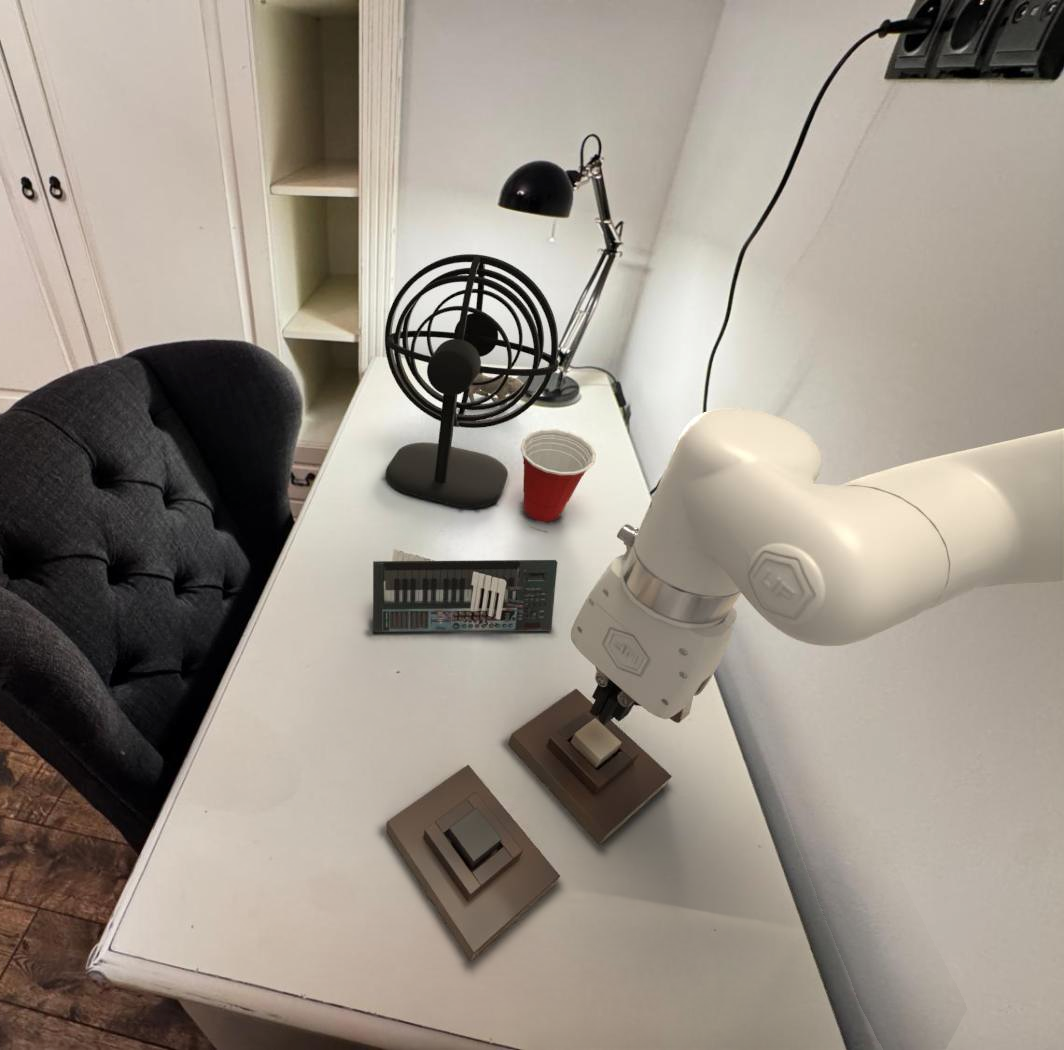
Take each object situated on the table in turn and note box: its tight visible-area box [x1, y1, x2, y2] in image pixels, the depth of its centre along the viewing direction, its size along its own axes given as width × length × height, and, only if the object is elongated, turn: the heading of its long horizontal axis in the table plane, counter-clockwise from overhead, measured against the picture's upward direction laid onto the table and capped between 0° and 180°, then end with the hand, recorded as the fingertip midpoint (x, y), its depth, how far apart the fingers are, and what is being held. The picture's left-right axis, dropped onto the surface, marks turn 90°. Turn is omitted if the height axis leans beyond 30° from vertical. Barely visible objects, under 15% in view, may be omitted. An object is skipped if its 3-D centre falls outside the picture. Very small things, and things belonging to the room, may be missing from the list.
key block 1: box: [385, 764, 561, 961], centre depth 51 cm, size 12×10×4 cm
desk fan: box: [384, 253, 560, 509], centre depth 88 cm, size 27×18×35 cm, turn 67°
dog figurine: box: [468, 373, 527, 408], centre depth 117 cm, size 12×6×7 cm, turn 74°
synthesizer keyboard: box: [372, 548, 558, 633], centre depth 71 cm, size 22×10×10 cm
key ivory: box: [570, 718, 621, 768], centre depth 56 cm, size 3×3×2 cm
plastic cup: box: [520, 428, 597, 522], centre depth 87 cm, size 11×11×12 cm
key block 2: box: [508, 688, 673, 845], centre depth 58 cm, size 12×10×4 cm
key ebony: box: [448, 808, 502, 869], centre depth 49 cm, size 3×3×2 cm
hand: (606, 711), depth 53 cm, fingers closed
